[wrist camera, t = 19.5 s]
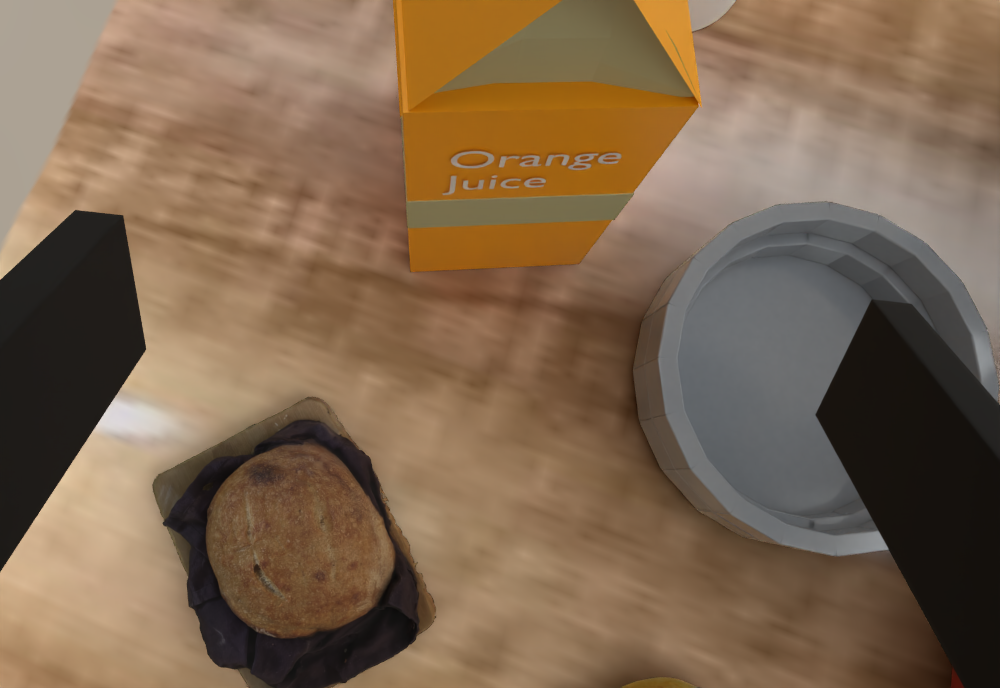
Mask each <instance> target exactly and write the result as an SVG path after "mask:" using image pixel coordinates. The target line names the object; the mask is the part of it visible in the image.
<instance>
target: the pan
mask: <svg viewBox="0 0 1000 688" xmlns="http://www.w3.org/2000/svg"><path fill="white" fill-rule="evenodd" d="M872 299H874V300H883V301H892V302H900V303H909V304H912V305H913V306H914V307H915V308H916V309H917V310H918V312H919V313H920V314H921V315H922V316H923V317H924V319H925V320H926V321H927V322H928V323H929V324H930V325H931V327H932V328H933V329H934V330H935V331H936V332H937V333H938V335H939V336H940V337H941V338H942V339H943V340H944V341H945V343H946V344H947V345H948V346H949V347H950V348H951V349H952V351H953V352H954V353H955V354H956V355H957V356H958V358H959V359H960V360H961V361H962V362H963V363H964V364H965V366H966V367H967V368H968V369H969V370H970V371H971V372H972V374H973V375H974V376H975V377H976V378H977V379H978V380H979V382H980V383H981V384H982V385H983V386H984V387H985V388H986V390H987V391H988V392H989V393H990V394H991V395H992V397H993V398H994V399H995V400H996V401H997V402H998V392H999V384H998V377H997V372H996V368H995V363H994V358H993V353H992V348H991V343H990V339H989V334H988V331H987V328H986V326H985V324H984V322H983V320H982V318H981V316H980V314H979V312H978V310H977V308H976V307H975V305H974V303H973V301H972V299H971V297H970V295H969V293H968V291H967V289H966V287H965V285H964V284H963V282H962V281H961V280H960V279H959V277H958V276H957V275H956V274H955V273H954V272H953V271H952V270H951V269H950V268H949V267H948V266H947V265H946V264H945V263H944V261H943V260H942V259H941V258H940V257H939V256H938V255H937V254H936V253H935V252H934V251H933V250H932V249H931V248H930V247H929V245H928V244H927V243H924V241H922V240H921V239H919V238H917V237H916V236H914V235H912V234H911V233H909V232H907V231H906V230H904V229H902V228H901V227H899V226H897V225H896V224H894V223H892V222H891V221H889V220H887V219H886V218H884V217H882V216H880V215H878V214H875V213H871V212H868V211H864V210H860V209H856V208H852V207H848V206H844V205H840V204H836V203H833V202H827V201H825V202H808V203H791V204H778V205H774V206H772V207H769V208H767V209H765V210H762V211H760V212H757V213H755V214H752V215H750V216H747V217H745V218H742V219H740V220H738V221H735V222H733V223H731V224H729V225H728V226H727V227H726V228H724V229H723V230H722V231H721V232H719V233H718V234H717V235H716V236H714V237H713V238H712V239H711V240H710V241H708V242H707V243H706V244H705V245H703V246H702V247H701V248H700V249H698V250H697V251H696V252H695V253H694V254H693V255H692V256H691V257H689V258H688V259H687V260H686V261H685V262H684V263H683V264H682V265H680V266H679V267H678V268H677V269H676V270H675V271H674V272H673V273H671V274H670V275H669V276H668V277H667V278H666V279H665V280H664V282H663V284H662V286H661V287H660V289H659V291H658V293H657V295H656V296H655V298H654V300H653V302H652V303H651V305H650V307H649V309H648V311H647V312H646V314H645V316H644V318H643V320H642V323H641V328H640V334H639V339H638V344H637V350H636V355H635V361H634V366H633V377H634V384H635V392H636V400H637V408H638V416H639V421H640V424H641V427H642V429H643V431H644V433H645V435H646V438H647V440H648V442H649V444H650V446H651V449H652V451H653V453H654V455H655V457H656V460H657V462H658V464H659V466H660V468H661V469H663V472H664V473H665V474H666V476H667V477H668V478H669V479H670V480H671V481H672V482H673V483H674V485H675V486H676V487H677V488H678V489H679V490H680V491H681V492H682V494H683V495H684V496H685V497H686V498H687V499H688V500H689V501H690V503H691V504H692V505H693V506H694V507H695V508H696V509H698V511H699V512H701V513H703V514H704V515H706V516H708V517H709V518H711V519H713V520H714V521H716V522H718V523H719V524H721V525H723V526H724V527H726V528H728V529H729V530H731V531H733V532H734V533H736V534H738V535H739V536H742V537H744V538H748V539H753V540H757V541H762V542H766V543H771V544H775V545H779V546H784V547H788V548H793V549H798V550H803V551H808V552H813V553H819V554H824V555H829V556H836V557H839V556H848V555H856V554H864V553H873V552H881V551H889V549H888V547H887V545H886V544H885V542H884V540H883V538H882V536H881V534H880V533H879V531H878V529H877V527H876V525H875V523H874V522H873V520H872V518H871V516H870V514H869V512H868V511H867V509H866V507H865V505H864V503H863V501H862V500H861V498H860V496H859V494H858V492H857V490H856V489H855V487H854V485H853V483H852V481H851V479H850V478H849V476H848V474H847V472H846V470H845V468H844V467H843V465H842V463H841V461H840V459H839V457H838V456H837V454H836V452H835V450H834V448H833V446H832V445H831V443H830V441H829V439H828V437H827V435H826V434H825V432H824V430H823V428H822V426H821V424H820V423H819V421H818V419H817V417H816V415H815V414H816V412H817V410H818V408H819V406H820V404H821V402H822V400H823V398H824V396H825V394H826V392H827V390H828V388H829V385H830V383H831V381H832V379H833V377H834V375H835V373H836V371H837V369H838V367H839V365H840V363H841V361H842V359H843V357H844V355H845V353H846V351H847V349H848V347H849V345H850V343H851V340H852V338H853V336H854V334H855V332H856V330H857V328H858V326H859V324H860V322H861V320H862V318H863V316H864V314H865V312H866V310H867V308H868V306H869V304H870V302H871V300H872Z"/></svg>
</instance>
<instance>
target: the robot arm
mask: <svg viewBox="0 0 1000 688" xmlns="http://www.w3.org/2000/svg"><path fill="white" fill-rule="evenodd" d="M145 350H146V345H145V339H144V333H143V328H142V322H141V316H140V310H139V305H138V299H137V293H136V287H135V281H134V276H133V270H132V264H131V258H130V253H129V247H128V241H127V235H126V229H125V224H124V218H123V215H114V214H105V213H97V212H88V211H79V210H75V211H74V212H73V213H72V214H71V215H70V216H69V217H67V218H66V219H65V220H64V221H63V222H62V223H61V224H60V225H59V226H58V227H57V228H56V229H55V230H53V231H52V232H51V233H50V234H49V235H48V236H47V237H46V238H45V239H44V240H43V241H42V242H41V243H40V244H38V245H37V246H36V247H35V248H34V249H33V250H32V251H31V252H30V253H29V254H28V255H27V256H26V257H25V258H23V259H22V260H21V261H20V262H19V263H18V264H17V265H16V266H15V267H14V268H13V269H12V270H11V271H9V272H8V273H7V274H6V275H5V276H4V277H3V278H2V279H1V280H0V571H1V570H2V568H3V567H4V565H5V564H6V562H7V561H8V559H9V558H10V556H11V555H12V553H13V552H14V550H15V549H16V547H17V546H18V544H19V542H20V541H21V539H22V538H23V536H24V535H25V533H26V532H27V530H28V529H29V527H30V526H31V524H32V523H33V521H34V520H35V518H36V517H37V515H38V513H39V512H40V510H41V509H42V507H43V506H44V504H45V503H46V501H47V500H48V498H49V497H50V495H51V494H52V492H53V491H54V489H55V488H56V486H57V485H58V483H59V481H60V480H61V478H62V477H63V475H64V474H65V472H66V471H67V469H68V468H69V466H70V465H71V463H72V462H73V460H74V459H75V457H76V456H77V454H78V452H79V451H80V449H81V448H82V446H83V445H84V443H85V442H86V440H87V439H88V437H89V436H90V434H91V433H92V431H93V430H94V428H95V427H96V425H97V424H98V422H99V420H100V419H101V417H102V416H103V414H104V413H105V411H106V410H107V408H108V407H109V405H110V404H111V402H112V401H113V399H114V398H115V396H116V395H117V393H118V391H119V390H120V388H121V387H122V385H123V384H124V382H125V381H126V379H127V378H128V376H129V375H130V373H131V372H132V370H133V369H134V367H135V366H136V364H137V363H138V361H139V359H140V358H141V356H142V355H143V353H144V352H145ZM815 415H816V417H817V419H818V421H819V423H820V424H821V426H822V428H823V430H824V432H825V434H826V435H827V437H828V439H829V441H830V443H831V445H832V446H833V448H834V450H835V452H836V454H837V456H838V457H839V459H840V461H841V463H842V465H843V467H844V468H845V470H846V472H847V474H848V476H849V478H850V479H851V481H852V483H853V485H854V487H855V489H856V490H857V492H858V494H859V496H860V498H861V500H862V501H863V503H864V505H865V507H866V509H867V511H868V512H869V514H870V516H871V518H872V520H873V522H874V523H875V525H876V527H877V529H878V531H879V533H880V534H881V536H882V538H883V540H884V542H885V544H886V545H887V547H888V549H889V551H890V553H891V555H892V556H893V558H894V560H895V562H896V564H897V566H898V567H899V569H900V571H901V573H902V575H903V577H904V578H905V580H906V582H907V584H908V586H909V588H910V589H911V591H912V593H913V595H914V597H915V599H916V600H917V602H918V604H919V606H920V608H921V610H922V611H923V613H924V615H925V617H926V619H927V621H928V622H929V624H930V626H931V628H932V630H933V632H934V633H935V635H936V637H937V639H938V641H939V643H940V644H941V646H942V648H943V650H944V652H945V654H946V655H947V657H948V659H949V661H950V663H951V665H952V666H953V668H954V670H955V672H956V674H957V676H958V677H959V679H960V681H961V683H962V685H963V687H964V688H1000V405H999V403H998V402H997V401H996V400H995V399H994V398H993V397H992V395H991V394H990V393H989V392H988V391H987V390H986V388H985V387H984V386H983V385H982V384H981V383H980V382H979V380H978V379H977V378H976V377H975V376H974V375H973V374H972V372H971V371H970V370H969V369H968V368H967V367H966V366H965V364H964V363H963V362H962V361H961V360H960V359H959V358H958V356H957V355H956V354H955V353H954V352H953V351H952V349H951V348H950V347H949V346H948V345H947V344H946V343H945V341H944V340H943V339H942V338H941V337H940V336H939V335H938V333H937V332H936V331H935V330H934V329H933V328H932V327H931V325H930V324H929V323H928V322H927V321H926V320H925V319H924V317H923V316H922V315H921V314H920V313H919V312H918V310H917V309H916V308H915V307H914V306H913V305H912V304H909V303H900V302H892V301H883V300H874V299H872V300H871V302H870V304H869V306H868V308H867V310H866V312H865V314H864V316H863V318H862V320H861V322H860V324H859V326H858V328H857V330H856V332H855V334H854V336H853V338H852V340H851V343H850V345H849V347H848V349H847V351H846V353H845V355H844V357H843V359H842V361H841V363H840V365H839V367H838V369H837V371H836V373H835V375H834V377H833V379H832V381H831V383H830V385H829V388H828V390H827V392H826V394H825V396H824V398H823V400H822V402H821V404H820V406H819V408H818V410H817V412H816V414H815Z"/></svg>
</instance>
